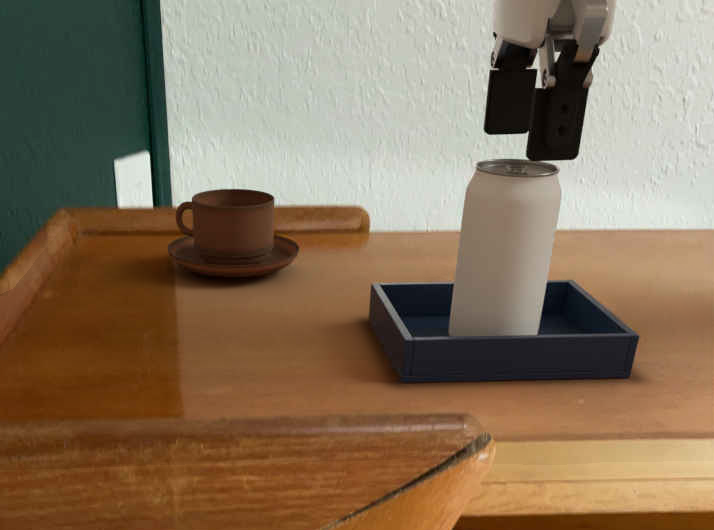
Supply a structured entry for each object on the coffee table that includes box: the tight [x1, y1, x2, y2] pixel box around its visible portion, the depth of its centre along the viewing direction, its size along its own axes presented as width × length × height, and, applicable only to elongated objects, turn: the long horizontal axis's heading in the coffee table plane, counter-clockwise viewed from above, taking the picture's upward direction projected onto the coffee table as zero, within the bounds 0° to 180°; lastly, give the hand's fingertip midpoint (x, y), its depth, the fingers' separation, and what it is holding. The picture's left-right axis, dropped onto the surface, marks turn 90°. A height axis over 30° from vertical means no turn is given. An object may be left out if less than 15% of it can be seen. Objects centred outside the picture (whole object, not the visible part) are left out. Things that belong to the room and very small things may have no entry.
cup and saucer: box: [167, 188, 300, 278], centre depth 87 cm, size 12×12×6 cm
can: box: [449, 158, 562, 337], centre depth 68 cm, size 6×6×12 cm
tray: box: [368, 279, 640, 384], centre depth 71 cm, size 16×13×3 cm
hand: (527, 145), depth 64 cm, fingers open, 9 cm apart
